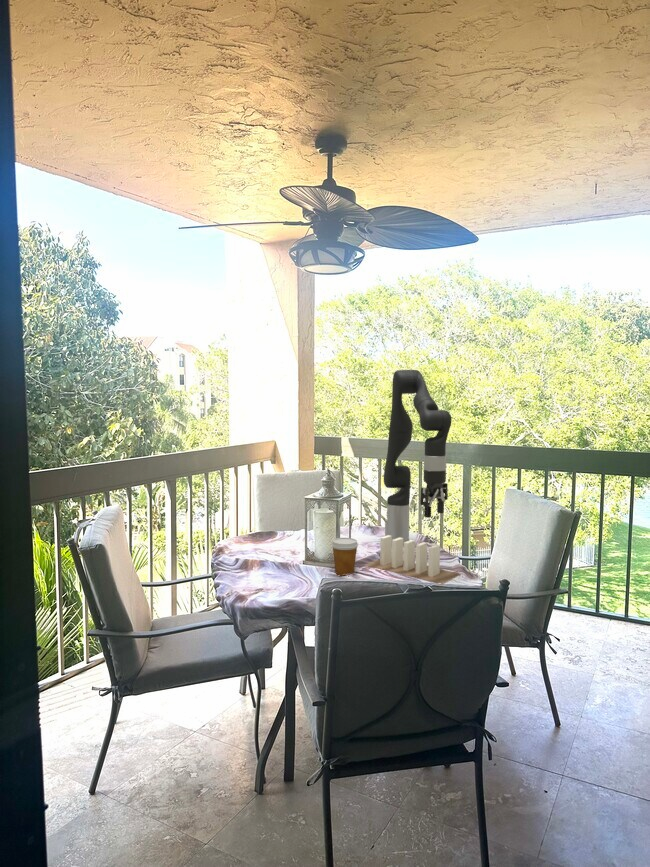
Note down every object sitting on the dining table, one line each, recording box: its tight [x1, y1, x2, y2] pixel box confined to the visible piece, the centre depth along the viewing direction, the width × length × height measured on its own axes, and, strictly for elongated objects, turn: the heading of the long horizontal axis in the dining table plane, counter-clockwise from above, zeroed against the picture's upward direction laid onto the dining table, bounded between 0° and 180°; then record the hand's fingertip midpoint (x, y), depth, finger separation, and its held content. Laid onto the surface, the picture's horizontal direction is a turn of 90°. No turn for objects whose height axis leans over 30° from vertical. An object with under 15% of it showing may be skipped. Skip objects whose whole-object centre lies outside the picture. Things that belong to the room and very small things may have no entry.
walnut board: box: [364, 558, 462, 585], centre depth 203 cm, size 32×14×1 cm, turn 50°
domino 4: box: [415, 541, 428, 574], centre depth 200 cm, size 2×5×10 cm, turn 140°
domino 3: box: [403, 539, 416, 571], centre depth 204 cm, size 2×5×10 cm, turn 139°
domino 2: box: [392, 537, 404, 568], centre depth 207 cm, size 2×5×10 cm, turn 140°
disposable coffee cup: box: [331, 537, 359, 577], centre depth 201 cm, size 10×10×12 cm
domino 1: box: [379, 535, 392, 565], centre depth 210 cm, size 2×5×10 cm, turn 140°
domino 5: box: [427, 544, 441, 577], centre depth 197 cm, size 2×5×10 cm, turn 140°
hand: (434, 515), depth 196 cm, fingers open, 8 cm apart
